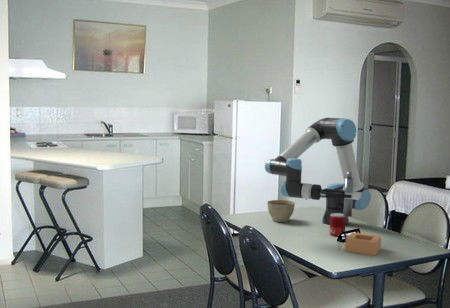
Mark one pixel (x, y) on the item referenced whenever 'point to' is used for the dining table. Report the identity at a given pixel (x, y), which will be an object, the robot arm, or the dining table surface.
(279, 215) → the planter bowl
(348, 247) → the hollowed wooden tray
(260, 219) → the dining table surface
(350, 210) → the slim metal bottle
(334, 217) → the canned food
